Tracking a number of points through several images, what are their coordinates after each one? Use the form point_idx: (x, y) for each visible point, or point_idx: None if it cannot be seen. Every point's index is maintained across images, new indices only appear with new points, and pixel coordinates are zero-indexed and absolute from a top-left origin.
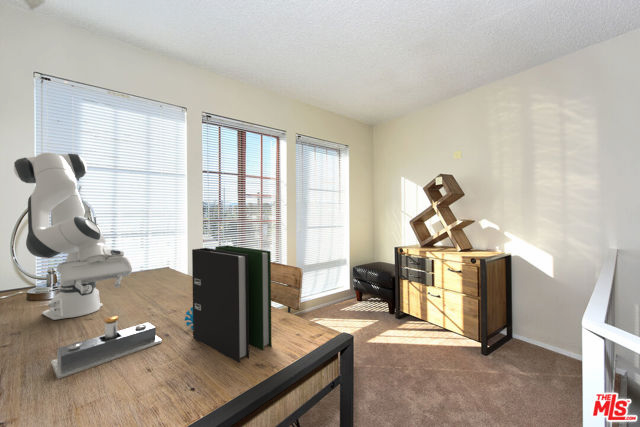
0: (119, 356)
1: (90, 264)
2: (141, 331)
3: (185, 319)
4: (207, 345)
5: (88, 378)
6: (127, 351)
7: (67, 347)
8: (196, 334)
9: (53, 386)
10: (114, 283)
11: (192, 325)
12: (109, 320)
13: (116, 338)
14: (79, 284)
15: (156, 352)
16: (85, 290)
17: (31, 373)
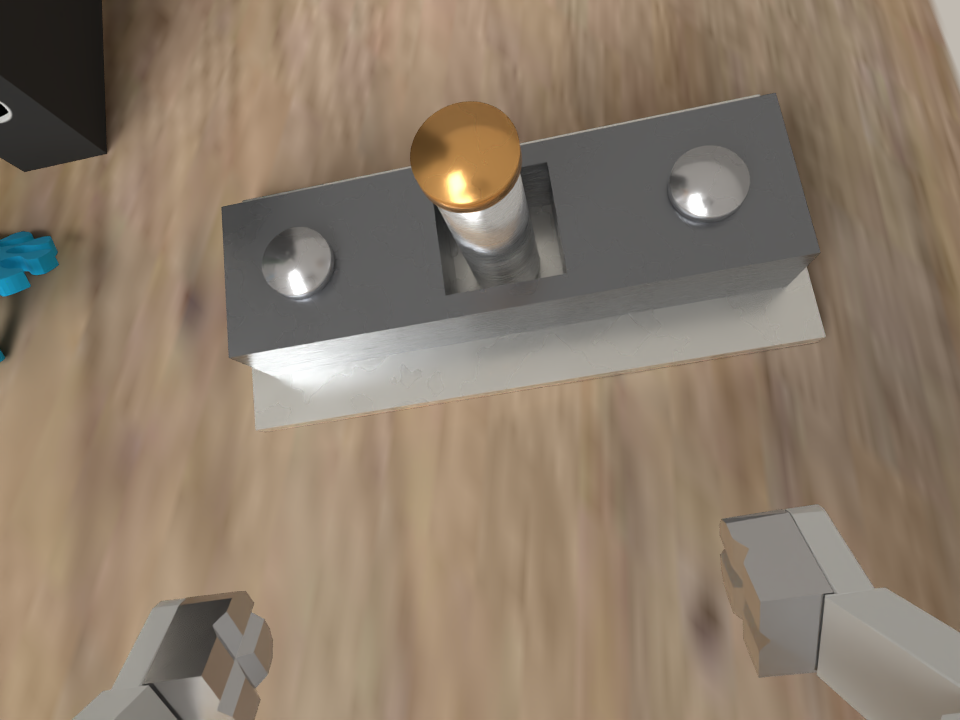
0: None
1: None
2: (313, 189)
3: (22, 269)
4: (100, 11)
5: (619, 24)
6: None
7: (755, 223)
8: (81, 97)
9: (761, 43)
10: (236, 714)
11: (32, 245)
12: (484, 105)
13: None
14: (950, 655)
15: (310, 98)
16: (755, 515)
17: (902, 277)
